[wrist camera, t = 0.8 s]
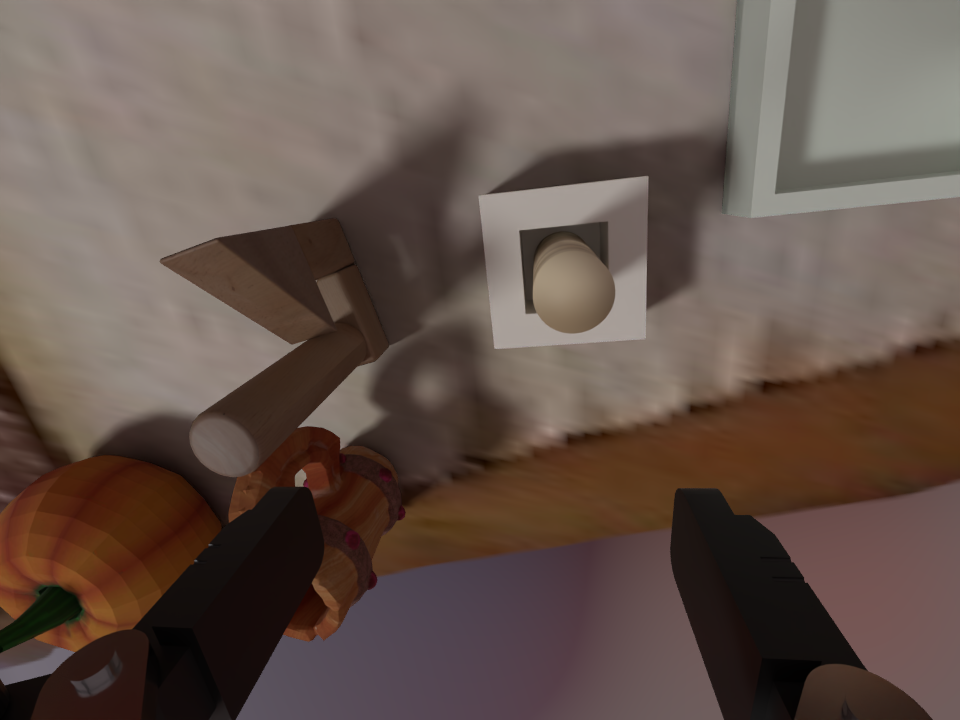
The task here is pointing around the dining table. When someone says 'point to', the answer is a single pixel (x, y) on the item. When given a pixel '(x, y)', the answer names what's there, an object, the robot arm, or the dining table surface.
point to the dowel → (570, 284)
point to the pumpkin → (96, 548)
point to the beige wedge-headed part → (281, 332)
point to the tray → (842, 105)
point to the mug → (331, 518)
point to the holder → (604, 228)
